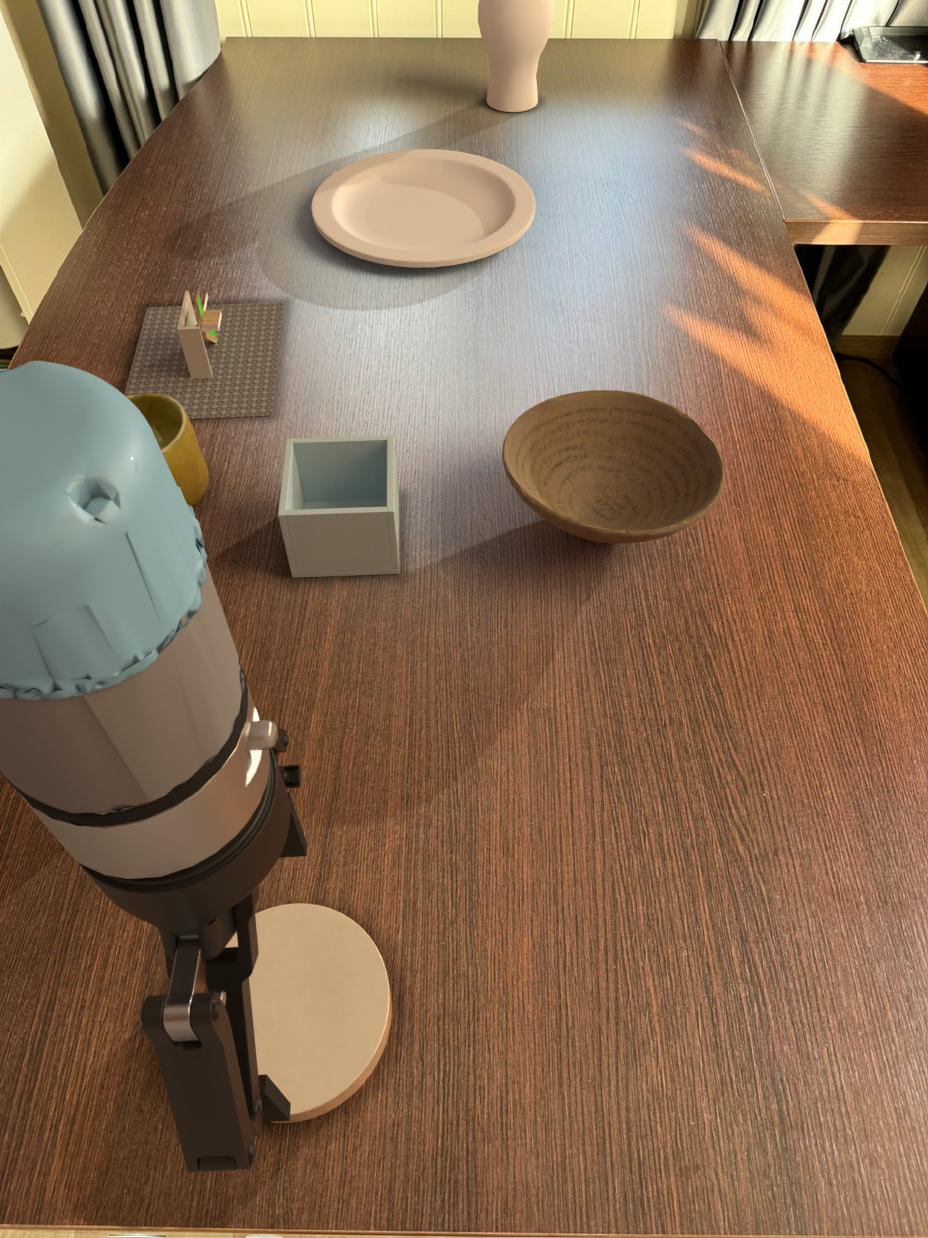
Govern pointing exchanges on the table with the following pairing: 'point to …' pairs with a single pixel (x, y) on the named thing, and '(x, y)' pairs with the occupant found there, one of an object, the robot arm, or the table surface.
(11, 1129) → the table surface
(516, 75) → the cup
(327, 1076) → the small plate
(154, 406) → the mug
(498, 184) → the plate
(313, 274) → the table surface
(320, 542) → the container
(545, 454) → the bowl
